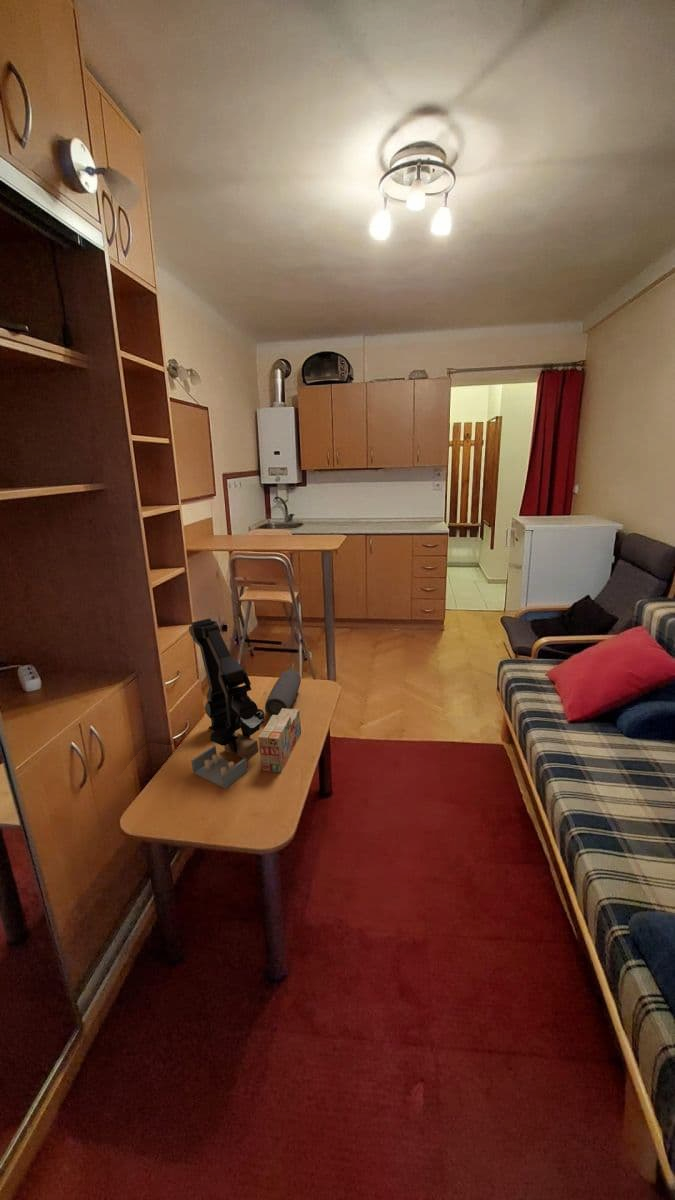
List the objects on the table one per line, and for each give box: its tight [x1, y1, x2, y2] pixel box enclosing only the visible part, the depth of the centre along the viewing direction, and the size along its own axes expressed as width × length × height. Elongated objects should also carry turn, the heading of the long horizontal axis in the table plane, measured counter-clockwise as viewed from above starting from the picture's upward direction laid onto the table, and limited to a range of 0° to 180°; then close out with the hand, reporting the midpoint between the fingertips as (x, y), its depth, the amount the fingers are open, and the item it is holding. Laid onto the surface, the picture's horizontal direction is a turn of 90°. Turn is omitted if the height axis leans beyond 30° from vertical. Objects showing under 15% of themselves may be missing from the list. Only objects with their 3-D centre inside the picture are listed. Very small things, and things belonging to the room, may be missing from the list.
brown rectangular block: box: [223, 731, 259, 761], centre depth 150 cm, size 10×5×4 cm, turn 57°
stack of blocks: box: [258, 708, 302, 774], centre depth 148 cm, size 21×6×12 cm, turn 168°
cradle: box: [190, 744, 249, 790], centre depth 140 cm, size 14×9×4 cm, turn 57°
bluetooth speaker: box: [264, 669, 302, 718], centre depth 176 cm, size 23×9×10 cm, turn 172°
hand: (241, 747), depth 150 cm, fingers closed on brown rectangular block, 5 cm apart
